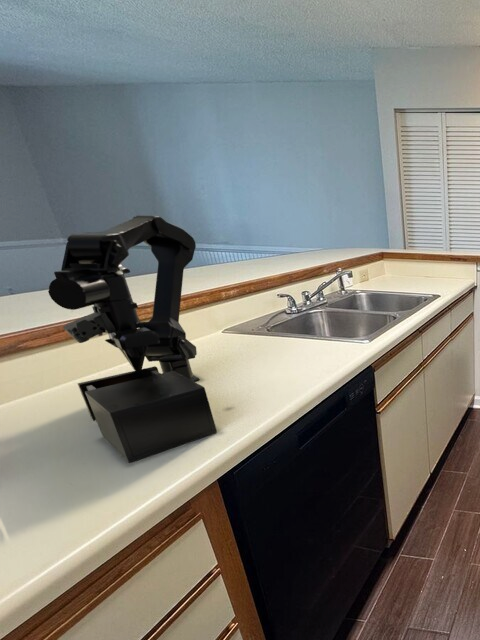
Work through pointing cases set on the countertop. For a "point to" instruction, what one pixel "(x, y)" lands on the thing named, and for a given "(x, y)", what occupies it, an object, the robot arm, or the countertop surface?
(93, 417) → the rack
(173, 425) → the black slanted wedge box
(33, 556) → the countertop surface
